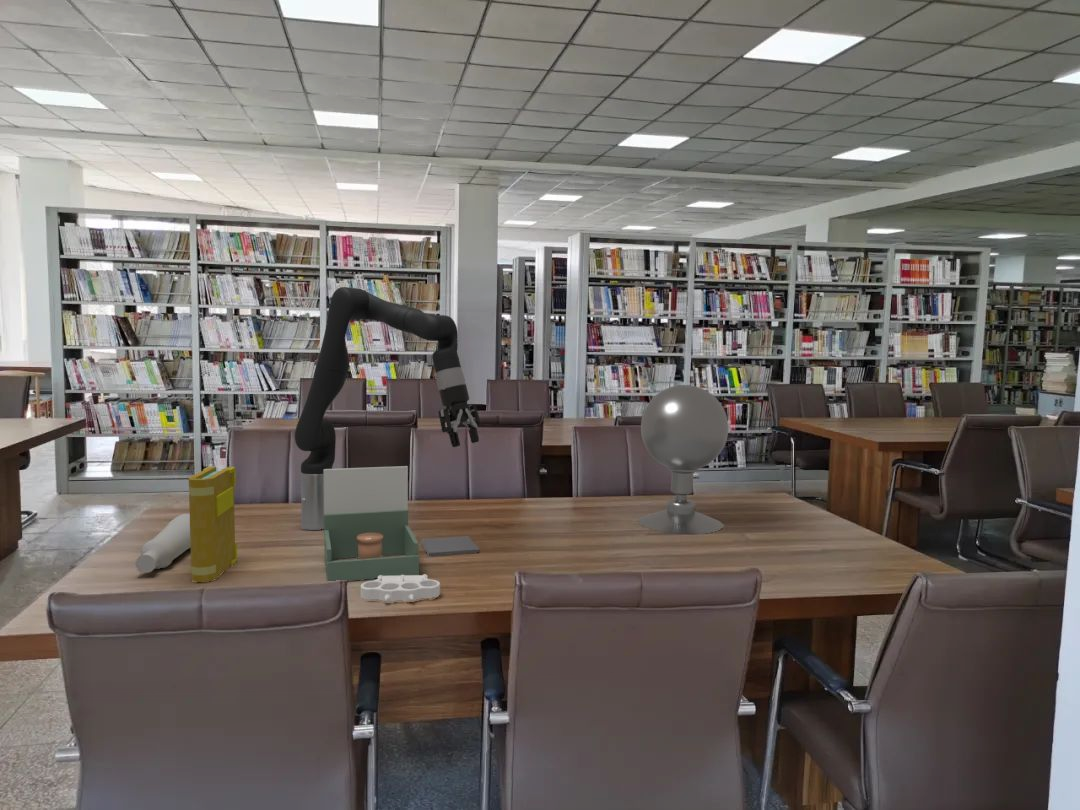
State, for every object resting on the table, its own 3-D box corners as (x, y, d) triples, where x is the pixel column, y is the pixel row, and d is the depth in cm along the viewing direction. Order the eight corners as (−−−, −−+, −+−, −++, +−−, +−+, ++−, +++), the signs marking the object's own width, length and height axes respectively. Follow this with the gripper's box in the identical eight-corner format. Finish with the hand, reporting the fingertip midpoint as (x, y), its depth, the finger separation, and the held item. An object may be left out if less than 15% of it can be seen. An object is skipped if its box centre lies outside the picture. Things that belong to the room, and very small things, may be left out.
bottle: (166, 532, 210) (118, 569, 181) (183, 505, 210) (138, 538, 180) (194, 549, 212) (152, 588, 182) (212, 523, 211) (172, 558, 182)
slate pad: (428, 556, 203) (428, 553, 203) (420, 542, 216) (420, 539, 216) (479, 552, 207) (479, 549, 207) (468, 539, 220) (468, 535, 220)
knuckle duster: (440, 584, 182) (439, 606, 168) (365, 586, 180) (357, 608, 165) (440, 571, 182) (439, 591, 167) (365, 572, 180) (357, 593, 165)
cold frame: (327, 583, 180) (326, 485, 178) (324, 557, 200) (323, 469, 197) (418, 575, 187) (419, 480, 185) (407, 551, 207) (407, 466, 204)
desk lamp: (628, 527, 236) (632, 385, 232) (649, 509, 262) (653, 380, 257) (716, 538, 226) (723, 389, 222) (729, 518, 252) (735, 384, 247)
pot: (358, 572, 189) (357, 540, 188) (356, 564, 195) (355, 533, 194) (384, 570, 191) (384, 538, 190) (381, 562, 197) (381, 531, 196)
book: (210, 561, 195) (208, 466, 193) (237, 561, 196) (235, 466, 193) (185, 583, 178) (182, 479, 176) (214, 583, 179) (212, 479, 176)
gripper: (457, 388, 211) (471, 443, 210) (425, 391, 199) (439, 450, 198) (478, 381, 207) (492, 438, 206) (446, 384, 195) (460, 445, 194)
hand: (466, 444), depth 202 cm, fingers open, 8 cm apart
